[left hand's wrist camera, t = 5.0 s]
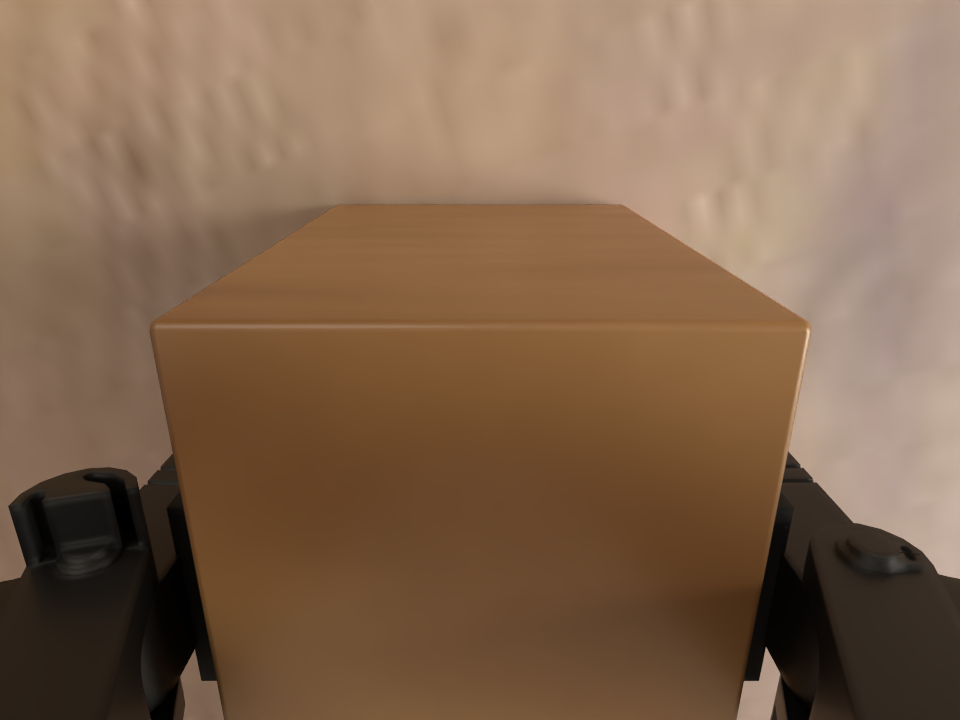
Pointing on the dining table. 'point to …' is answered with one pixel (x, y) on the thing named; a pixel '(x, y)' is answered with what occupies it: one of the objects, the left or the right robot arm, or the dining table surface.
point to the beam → (480, 466)
